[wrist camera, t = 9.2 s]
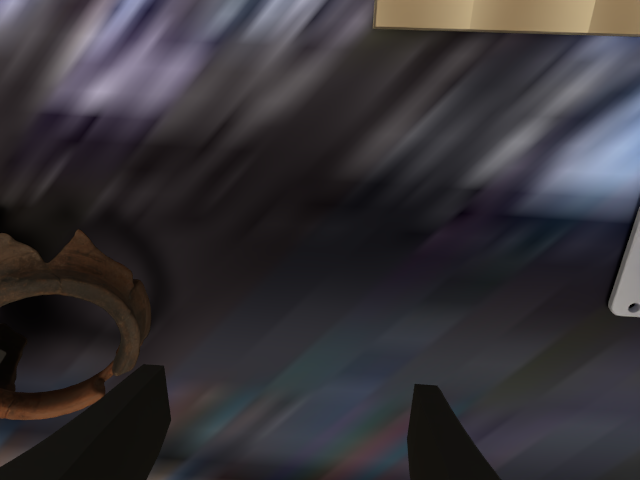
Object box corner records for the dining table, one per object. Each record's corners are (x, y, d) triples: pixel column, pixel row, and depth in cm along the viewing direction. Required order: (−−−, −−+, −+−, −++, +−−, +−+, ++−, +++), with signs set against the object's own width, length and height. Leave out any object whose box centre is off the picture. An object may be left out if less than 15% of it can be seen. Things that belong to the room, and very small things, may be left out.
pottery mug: (5, 144, 22) (-19, 218, 15) (173, 235, 28) (206, 315, 21) (-129, 334, 23) (-204, 475, 17) (59, 381, 29) (57, 499, 23)
